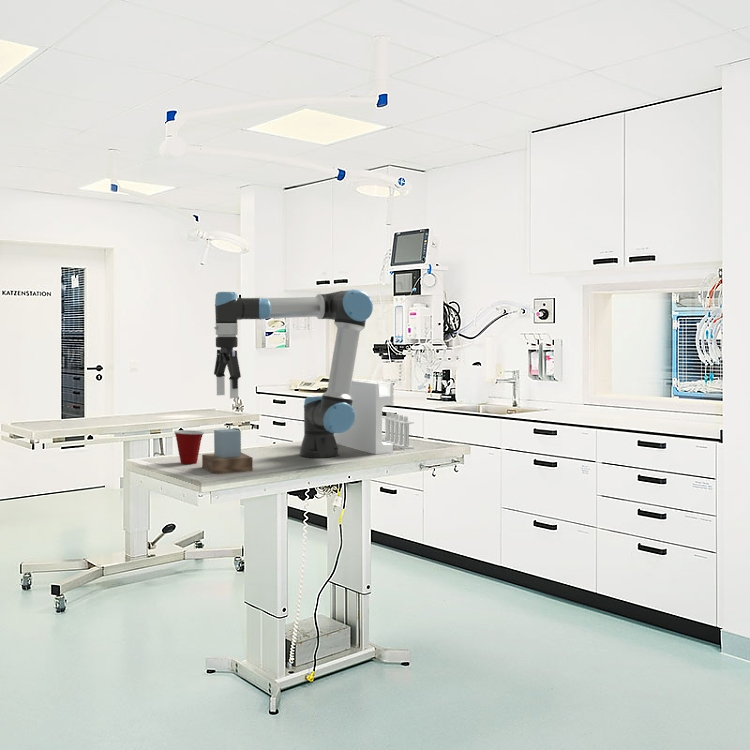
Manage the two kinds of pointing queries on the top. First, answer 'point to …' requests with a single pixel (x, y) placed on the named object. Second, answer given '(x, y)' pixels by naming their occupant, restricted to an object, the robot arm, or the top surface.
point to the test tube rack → (397, 430)
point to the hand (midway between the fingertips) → (227, 396)
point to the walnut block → (227, 463)
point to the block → (367, 417)
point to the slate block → (227, 443)
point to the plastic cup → (188, 445)
